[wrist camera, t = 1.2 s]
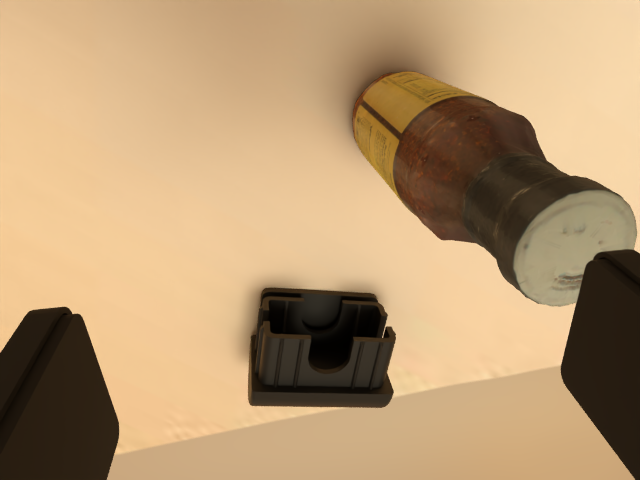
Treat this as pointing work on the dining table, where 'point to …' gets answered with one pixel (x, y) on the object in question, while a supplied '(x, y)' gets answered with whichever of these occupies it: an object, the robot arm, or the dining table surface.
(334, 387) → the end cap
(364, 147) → the sauce bottle
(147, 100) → the dining table surface
